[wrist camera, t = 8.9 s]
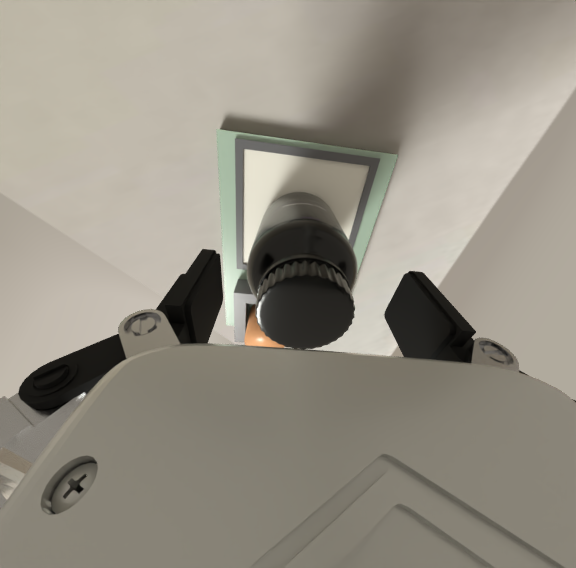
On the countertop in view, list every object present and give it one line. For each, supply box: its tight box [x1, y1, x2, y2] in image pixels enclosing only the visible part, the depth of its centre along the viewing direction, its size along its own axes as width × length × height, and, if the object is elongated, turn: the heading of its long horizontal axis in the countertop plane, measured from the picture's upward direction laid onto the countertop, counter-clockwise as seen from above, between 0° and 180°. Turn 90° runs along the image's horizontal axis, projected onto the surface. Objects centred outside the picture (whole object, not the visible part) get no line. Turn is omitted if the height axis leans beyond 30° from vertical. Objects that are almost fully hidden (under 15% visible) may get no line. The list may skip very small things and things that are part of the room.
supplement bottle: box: [247, 192, 358, 349], centre depth 15 cm, size 7×7×12 cm
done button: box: [244, 304, 284, 348], centre depth 23 cm, size 4×4×4 cm
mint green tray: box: [216, 129, 398, 342], centre depth 22 cm, size 20×14×4 cm
